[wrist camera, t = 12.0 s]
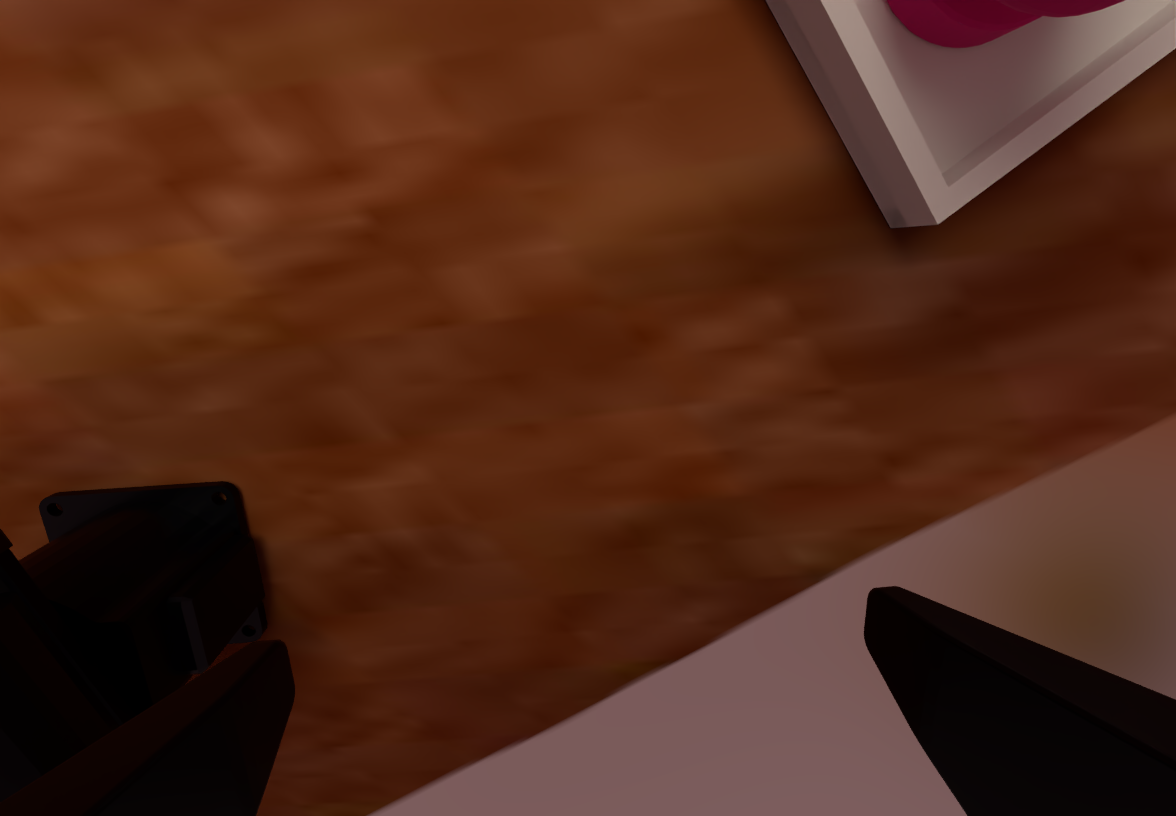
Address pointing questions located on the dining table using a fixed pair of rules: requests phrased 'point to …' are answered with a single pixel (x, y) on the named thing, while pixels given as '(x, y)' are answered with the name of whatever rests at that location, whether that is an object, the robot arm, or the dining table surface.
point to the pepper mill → (981, 17)
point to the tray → (961, 92)
